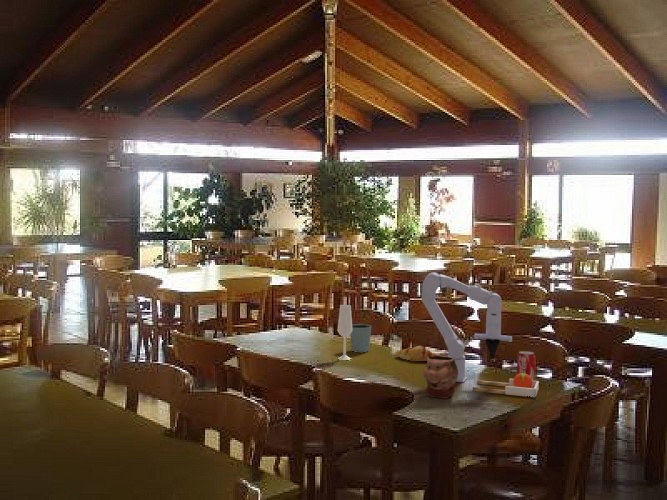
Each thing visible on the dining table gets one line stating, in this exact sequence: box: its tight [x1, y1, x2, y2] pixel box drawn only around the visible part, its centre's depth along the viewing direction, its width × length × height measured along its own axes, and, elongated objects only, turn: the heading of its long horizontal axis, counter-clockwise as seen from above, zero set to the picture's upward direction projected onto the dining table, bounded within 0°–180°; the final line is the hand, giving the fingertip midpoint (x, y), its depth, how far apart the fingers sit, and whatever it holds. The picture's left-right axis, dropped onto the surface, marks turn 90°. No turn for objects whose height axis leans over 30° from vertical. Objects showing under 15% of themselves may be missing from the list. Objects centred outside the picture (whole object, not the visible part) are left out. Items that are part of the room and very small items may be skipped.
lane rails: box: [472, 379, 509, 395], centre depth 293 cm, size 12×13×1 cm
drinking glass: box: [349, 323, 372, 353], centre depth 359 cm, size 10×10×12 cm
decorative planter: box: [423, 355, 458, 399], centre depth 282 cm, size 20×12×14 cm, turn 158°
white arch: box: [504, 378, 540, 398], centre depth 289 cm, size 11×14×3 cm
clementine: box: [513, 373, 532, 388], centre depth 289 cm, size 8×7×7 cm
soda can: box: [516, 350, 537, 381], centre depth 303 cm, size 7×7×12 cm
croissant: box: [395, 345, 441, 362], centre depth 342 cm, size 21×10×8 cm, turn 64°
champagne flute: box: [337, 304, 353, 361], centre depth 340 cm, size 7×7×24 cm
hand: (492, 358), depth 303 cm, fingers closed
